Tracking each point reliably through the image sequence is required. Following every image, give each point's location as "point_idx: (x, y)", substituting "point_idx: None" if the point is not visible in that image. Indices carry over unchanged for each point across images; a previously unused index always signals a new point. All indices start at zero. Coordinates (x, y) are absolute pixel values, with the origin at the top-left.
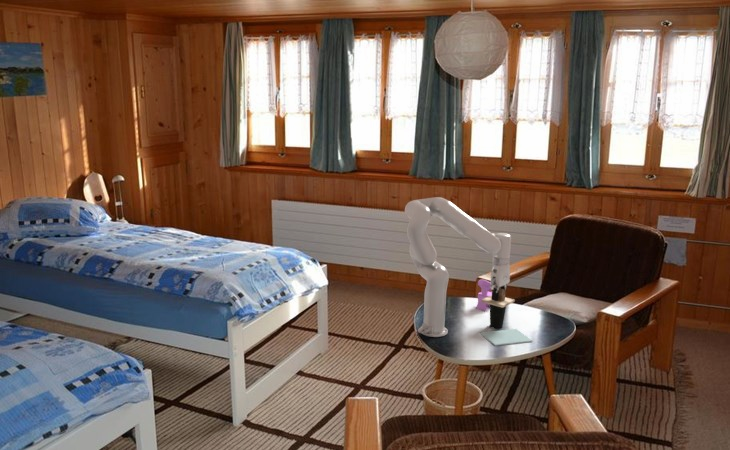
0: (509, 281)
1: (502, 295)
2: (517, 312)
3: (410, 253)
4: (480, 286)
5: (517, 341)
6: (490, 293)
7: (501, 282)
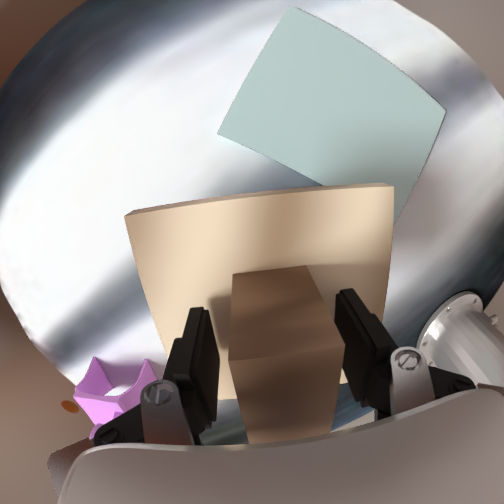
0: (83, 460)
1: (308, 304)
2: (51, 276)
3: None
4: None
5: (357, 47)
6: (93, 408)
7: (486, 460)
